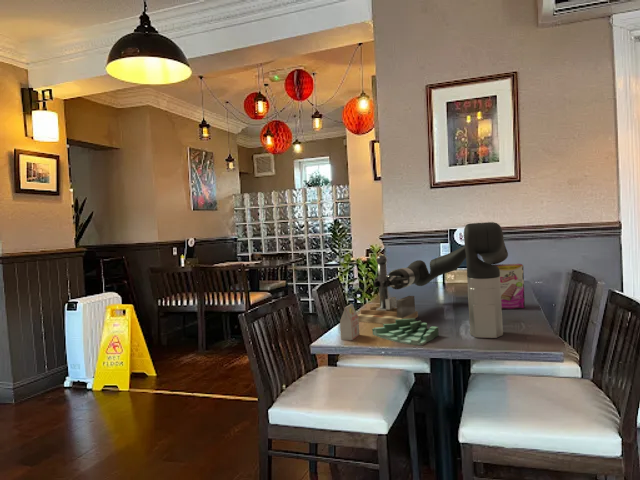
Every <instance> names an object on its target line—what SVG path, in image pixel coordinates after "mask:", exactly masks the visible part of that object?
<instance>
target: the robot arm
mask: <svg viewBox="0 0 640 480" xmlns="http://www.w3.org/2000/svg"><path fill="white" fill-rule="evenodd" d="M463 242H464V245H463V246H462V247H459V248H458V249H455V250H454V251H451V252H450V253H447V254H446V253H445V254H444V255H441V256H439V257H436V258H434V259H433V258H432V259H431V260H430V261H429V270H428V267H427V264H426V263H425V261H423V260H421V259H417V260H414V261H412V262H411V263H410V264H409V265H408V266H407V267H401V268H397V269H393V270H391V271H390V272H389V273H388V274H387V281H383V282H382V285H383V288H385V287H387V288H389V287H390V288H391V289H393V290H401V289H405V288H407V287H410V286H412V285H415V286H417V287H423V286H425V285H427V284H429V283H430V282H432V281H433V280H434V279H436V278H438V277H439V276H441V275H445V274H447V273H451V272H453V271H455V270H457V269H458V268H459V267H460V266H461V265H462V264H463V262H464V261H466V263H465V264H466V281H467V298H468V300H467V301H468V316H469V317H468V318H469V321H468V322H469V334H470V335H471V336H473V337H474V338H480V339H481V338H488V339H497V338H499V337H502V336H503V335H504V330H503V329H504V328H503V313H502V312H503V311H502V310H503V309H502V306H501V287H500V270H499V268H498V267H497V266H495V265H497V264H501V263H502V262H504V261H506V260H507V258H508V257H509V253H508V252H509V251H508V250H507V247H506V244H505V241H504V231H503V229H502V227H501V225H500V224H499V223H498V222H493V221H488V222H474V223H467V224H466V225H465V226H464V229H463ZM478 255H479V256H480V257H481V258H482V260H481V259H480V258H479V257H478ZM372 282H373V283H372V285H373V287H374V288H379V278H378V276H376V277H375V278H374V281H372Z"/></svg>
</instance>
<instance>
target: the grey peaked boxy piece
mask: <svg viewBox="0 0 640 480" xmlns="http://www.w3.org/2000/svg"><path fill="white" fill-rule="evenodd" d="M343 308H344V309H343V312H342V315H341V317H340V319H339V327H340V328H339V329H340V340H341V341H353V340H354V339H356V338H357V337H358V336H360V324H359V323H360V322H359V319H358V315H359V314H358V313H357V311H356V309H355V307H354V305H353V303H350V304H349V305H346V306H345V307H343Z"/></svg>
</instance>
